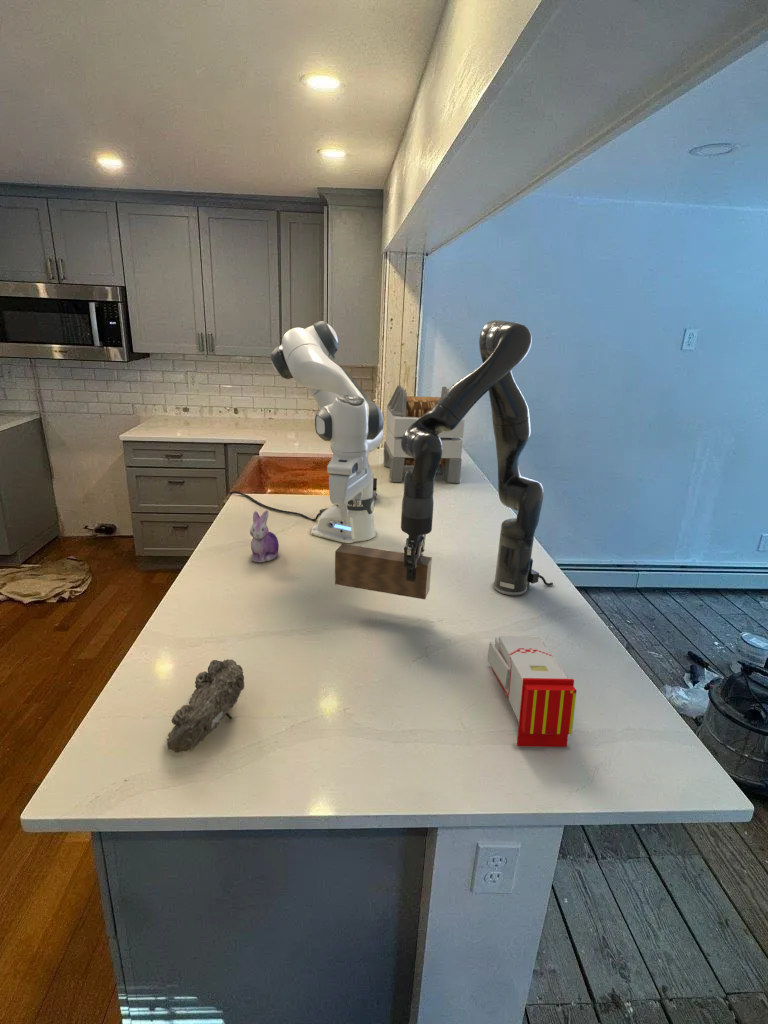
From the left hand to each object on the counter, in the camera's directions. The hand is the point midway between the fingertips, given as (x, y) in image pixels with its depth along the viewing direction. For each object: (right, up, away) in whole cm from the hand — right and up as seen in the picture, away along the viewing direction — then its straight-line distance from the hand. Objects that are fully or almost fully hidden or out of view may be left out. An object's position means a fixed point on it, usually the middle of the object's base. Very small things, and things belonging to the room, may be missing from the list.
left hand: (351, 511), depth 150 cm
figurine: (-28, -14, +27) cm, 42 cm away
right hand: (+16, -16, -8) cm, 24 cm away
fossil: (-24, -39, -42) cm, 62 cm away
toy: (+37, -39, -33) cm, 63 cm away
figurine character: (+2, +5, +85) cm, 85 cm away
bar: (+8, -20, -4) cm, 22 cm away
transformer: (+26, +19, +125) cm, 129 cm away
